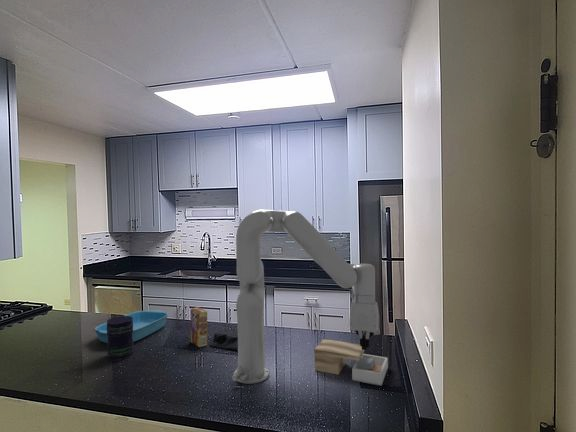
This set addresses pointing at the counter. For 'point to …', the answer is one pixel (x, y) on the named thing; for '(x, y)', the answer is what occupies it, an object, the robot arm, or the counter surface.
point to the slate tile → (366, 363)
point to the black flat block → (225, 341)
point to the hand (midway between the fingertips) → (364, 348)
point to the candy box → (199, 327)
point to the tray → (371, 376)
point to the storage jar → (120, 337)
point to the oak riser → (335, 355)
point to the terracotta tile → (375, 368)
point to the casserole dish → (138, 324)
